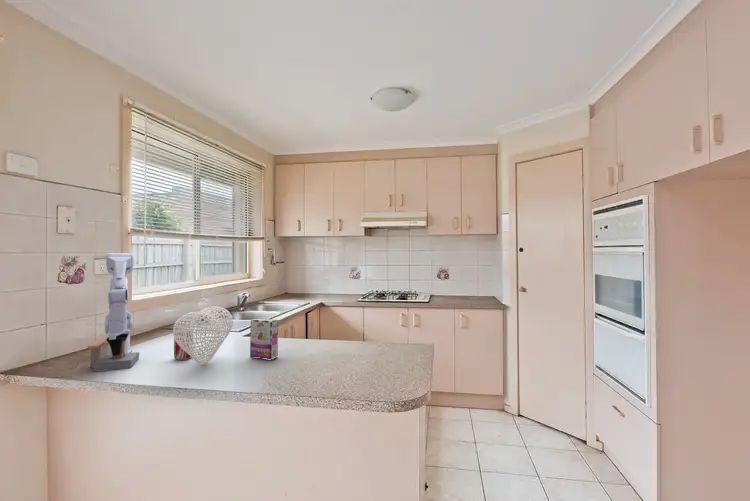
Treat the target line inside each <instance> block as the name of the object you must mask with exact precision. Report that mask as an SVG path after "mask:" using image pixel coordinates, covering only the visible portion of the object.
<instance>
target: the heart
mask: <svg viewBox="0 0 750 501" xmlns="http://www.w3.org/2000/svg"><path fill="white" fill-rule="evenodd" d="M202 319H203V321H202ZM233 324H234V317H233V315H232V314H231V312H230V311H229V310H228V309H226V308H224V307H221V306H218V305H215V306H214V305H213V306H212V305H211V306H207V307H204V308H203V309H201V310H199V311H191V312H187V313H184V314H183V315H182V316H180V317H179V318H177V319H176V321H175V322H174V324H173V327H172V334H173V340H174V339H175V341H176V342H177V344H178V345H179V346H180V347H181V348H182V349H183V350H184V351H185V352H186V353H188V354H189V355H190V356H191V357H190V358H192V359H193V361H195V362H196V363H197V364H198V365H201V366H206V365H208V364H209V362H211V361H212V360H213V357H214V356H215V354H216V353H217V351H219V348H220V347H221V345H223V343H224V341H225V340H226V339H227V337H228V336H229V335H230V333H231V331H232V328H233ZM180 329H181V331H180ZM184 329H185V331H184ZM187 329H188V331H187ZM177 330H178V331H177ZM189 331H190V332H189ZM191 331H192V332H191ZM175 333H176V335H175ZM177 333H178V336H177ZM179 333H180V334H181V336H180V334H179ZM182 333H183V336H182ZM187 333H188V335H187ZM189 333H190V334H189ZM184 334H185V338H184ZM191 334H192V335H191ZM189 335H191V338H190V336H189ZM187 336H188V338H187ZM202 336H203V337H202ZM176 338H177V339H176ZM178 339H179V340H178ZM180 339H181V340H180ZM183 339H184V340H183ZM190 339H192V341H191V340H190ZM186 340H187V342H186ZM188 340H189V343H188ZM181 341H182V342H181ZM183 341H184V342H185V343H184V342H183ZM191 342H193V343H191ZM187 344H188V345H187ZM189 344H190V345H189ZM192 344H193V345H192ZM199 344H200V345H199ZM185 345H186V347H185ZM188 346H189V347H188ZM183 347H184V348H183ZM189 348H190V349H191V350H190V349H189ZM187 349H188V350H187ZM188 351H189V352H188ZM191 351H192V352H191ZM190 353H191V354H190Z"/></svg>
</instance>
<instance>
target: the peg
mask: <svg viewBox="0 0 750 501" xmlns="http://www.w3.org/2000/svg"><path fill="white" fill-rule="evenodd" d="M124 351H125V341H123V342H122V345H121V350H120V354H119V355H115V356H113V355H112V359H120V358H123V357H124Z"/></svg>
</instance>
